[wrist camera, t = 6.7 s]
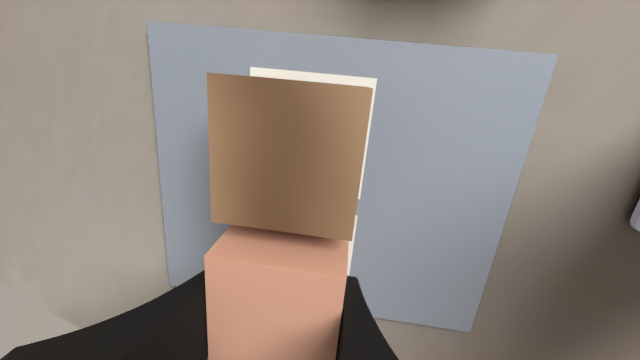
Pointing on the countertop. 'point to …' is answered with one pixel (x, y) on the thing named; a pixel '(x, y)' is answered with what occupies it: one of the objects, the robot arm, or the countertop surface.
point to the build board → (369, 154)
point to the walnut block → (286, 153)
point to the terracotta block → (274, 295)
